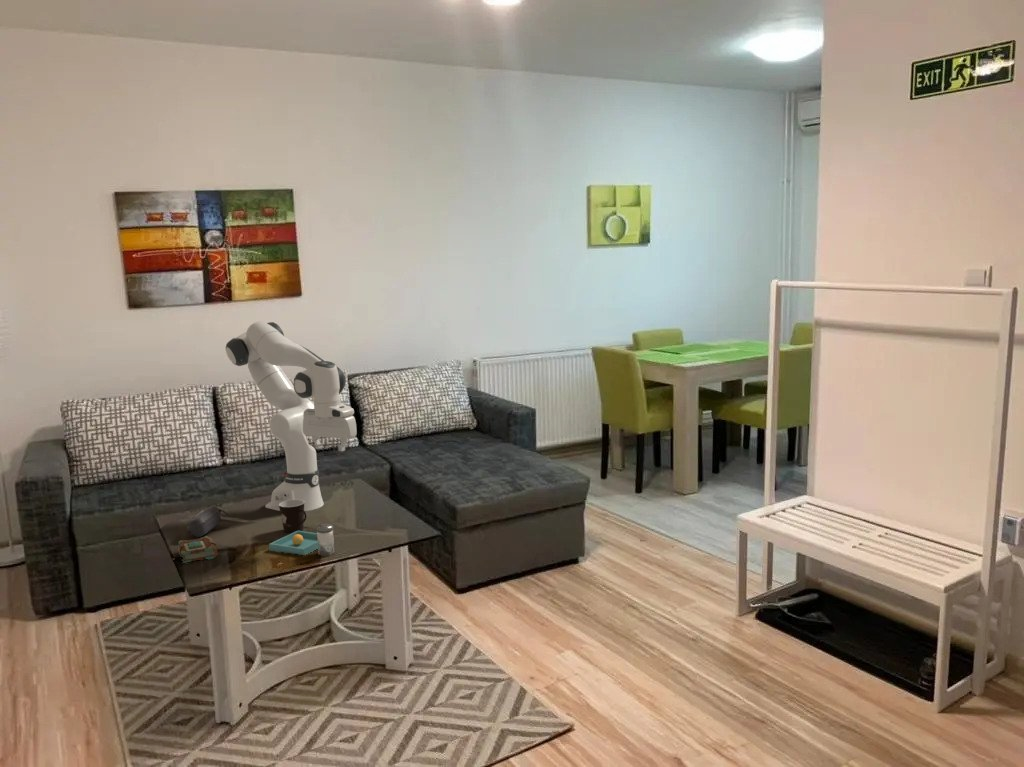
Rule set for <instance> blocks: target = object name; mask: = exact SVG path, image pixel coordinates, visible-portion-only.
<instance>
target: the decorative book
mask: <svg viewBox="0 0 1024 767" xmlns="http://www.w3.org/2000/svg"><path fill="white" fill-rule="evenodd" d="M177 549H178V554H179V555H180V556H185V558H186V559H185V560H184V559H181V562H182V561H183V562H188V561H194V560H200V561H204V559H208V560H214V558H216V557H217V556H218V550H217V543H216V542H215V541H214V540H213V539H212V537H210V536H207V535H205V536H203V537H202V536H201V537H199V538H195V539H194V538H193V539H188V540H187V539H186V540H179V541H178V547H177ZM172 560H174V558H172ZM183 562H182V563H183ZM194 562H195V561H194Z"/></svg>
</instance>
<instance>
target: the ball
mask: <svg viewBox="0 0 1024 767" xmlns="http://www.w3.org/2000/svg"><path fill="white" fill-rule="evenodd" d="M292 541H293V543H294V544H295V545H300V544H302V542H303V537H302V535H300V534H296V535H294V536H293V538H292Z"/></svg>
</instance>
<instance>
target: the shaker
mask: <svg viewBox="0 0 1024 767" xmlns="http://www.w3.org/2000/svg"><path fill="white" fill-rule="evenodd" d="M315 531H316V533H317V540H318V550H317V552H318V556H319V555H322V556H321V557H327V556H326V555H330V554H332V553H334V552H335V538H334V524H332V523H320V524H318V525H316V526H315ZM334 554H335V553H334ZM330 556H331V555H330Z"/></svg>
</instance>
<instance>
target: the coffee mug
mask: <svg viewBox="0 0 1024 767" xmlns="http://www.w3.org/2000/svg"><path fill="white" fill-rule="evenodd" d="M279 508H280V511H279V514H280V517H281V522H282V528H283V532H284V533H285V534H291V533H293V532H296V531H304V523H305V522H306V520H307V512H306V511H304V501H303V500H288V501H284V502H281V503H279Z"/></svg>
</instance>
